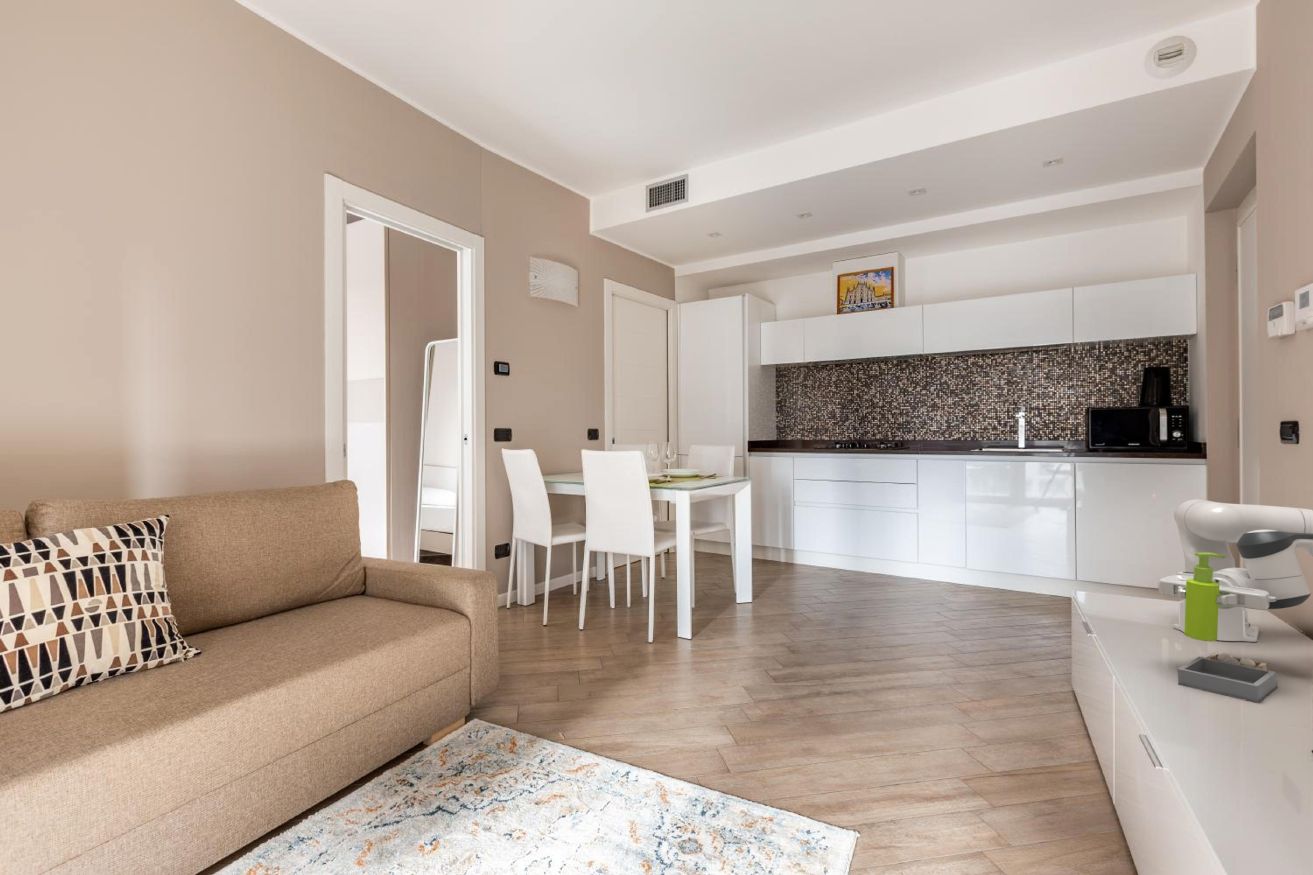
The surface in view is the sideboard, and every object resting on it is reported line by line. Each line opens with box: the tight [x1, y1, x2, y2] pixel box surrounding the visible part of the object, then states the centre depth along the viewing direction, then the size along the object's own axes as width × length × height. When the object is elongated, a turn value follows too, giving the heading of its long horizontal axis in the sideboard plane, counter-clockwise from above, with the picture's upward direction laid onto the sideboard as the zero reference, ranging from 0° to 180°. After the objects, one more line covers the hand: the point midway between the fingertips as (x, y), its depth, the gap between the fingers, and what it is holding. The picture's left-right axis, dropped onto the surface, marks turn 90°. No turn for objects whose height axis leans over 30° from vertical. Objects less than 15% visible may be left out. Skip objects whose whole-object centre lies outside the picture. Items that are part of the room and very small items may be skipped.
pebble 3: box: [1239, 657, 1256, 668], centre depth 154 cm, size 3×3×3 cm
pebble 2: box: [1224, 657, 1240, 665], centre depth 154 cm, size 3×3×3 cm
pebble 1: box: [1217, 652, 1233, 661], centre depth 157 cm, size 3×3×3 cm
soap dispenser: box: [1183, 552, 1226, 642], centre depth 148 cm, size 6×7×20 cm
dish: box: [1177, 656, 1278, 704], centre depth 146 cm, size 14×14×4 cm
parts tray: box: [1205, 652, 1268, 670], centre depth 155 cm, size 8×10×2 cm
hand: (1200, 597), depth 148 cm, fingers closed on soap dispenser, 6 cm apart
